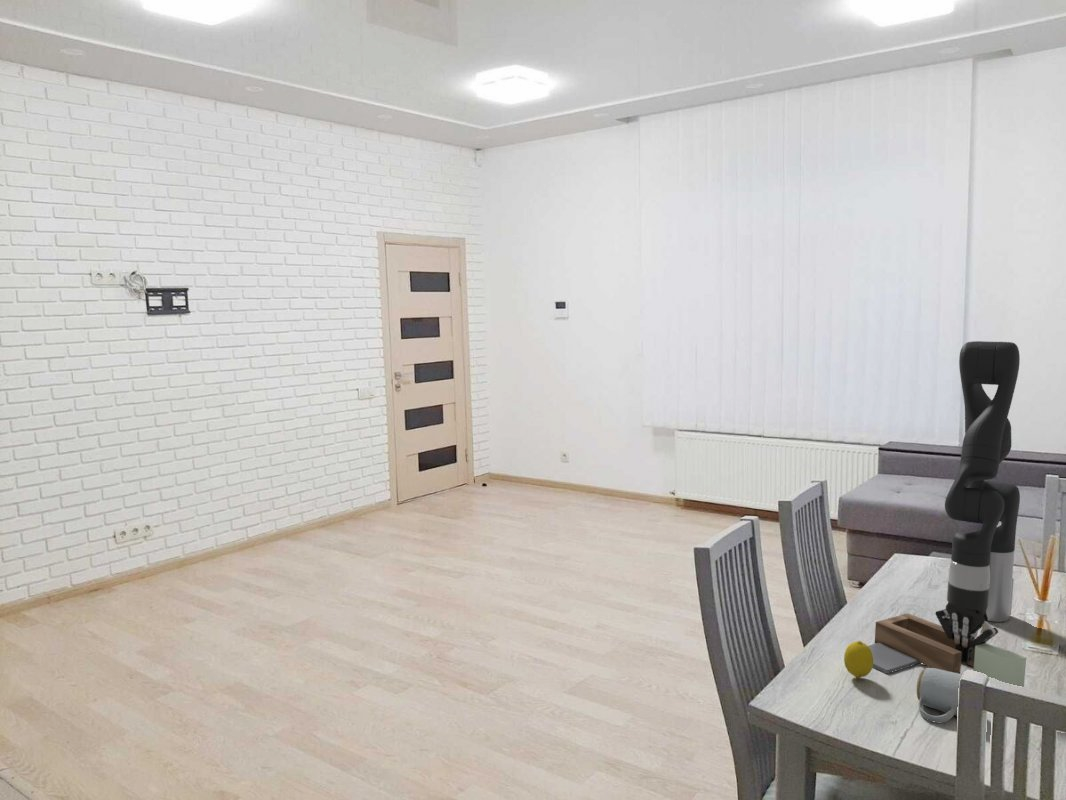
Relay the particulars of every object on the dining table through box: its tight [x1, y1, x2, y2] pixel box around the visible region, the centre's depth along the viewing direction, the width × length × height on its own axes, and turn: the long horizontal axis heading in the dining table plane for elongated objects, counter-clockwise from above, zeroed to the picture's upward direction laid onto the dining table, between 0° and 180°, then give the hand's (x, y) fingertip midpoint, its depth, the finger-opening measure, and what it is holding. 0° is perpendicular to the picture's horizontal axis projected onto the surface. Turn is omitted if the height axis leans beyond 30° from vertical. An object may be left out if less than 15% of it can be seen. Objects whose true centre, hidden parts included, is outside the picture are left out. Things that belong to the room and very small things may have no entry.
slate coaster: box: [867, 643, 919, 674], centre depth 174 cm, size 10×10×1 cm
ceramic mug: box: [916, 667, 963, 723], centre depth 152 cm, size 11×8×8 cm
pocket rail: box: [874, 612, 975, 674], centre depth 177 cm, size 11×19×5 cm, turn 28°
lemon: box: [843, 640, 874, 679], centre depth 165 cm, size 6×6×8 cm
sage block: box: [973, 641, 1027, 688], centre depth 163 cm, size 4×8×7 cm, turn 28°
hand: (962, 662), depth 170 cm, fingers closed
